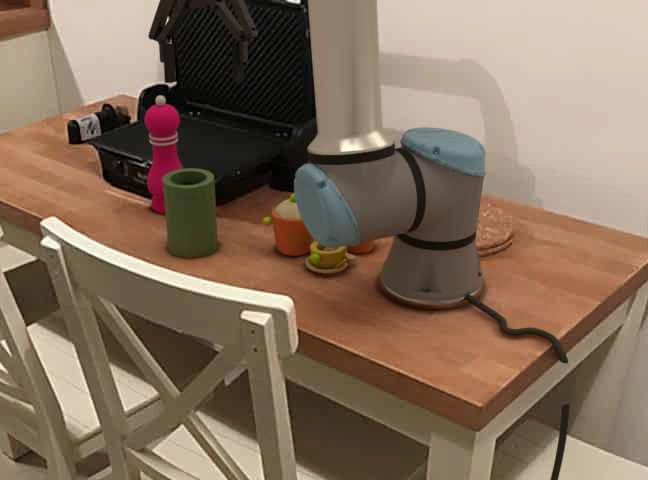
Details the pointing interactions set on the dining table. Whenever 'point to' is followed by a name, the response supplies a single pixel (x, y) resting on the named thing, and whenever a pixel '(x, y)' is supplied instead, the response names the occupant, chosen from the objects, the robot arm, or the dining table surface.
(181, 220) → the green cylindrical container
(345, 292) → the dining table surface
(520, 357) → the dining table surface
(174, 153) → the pepper mill
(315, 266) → the toy tea set
